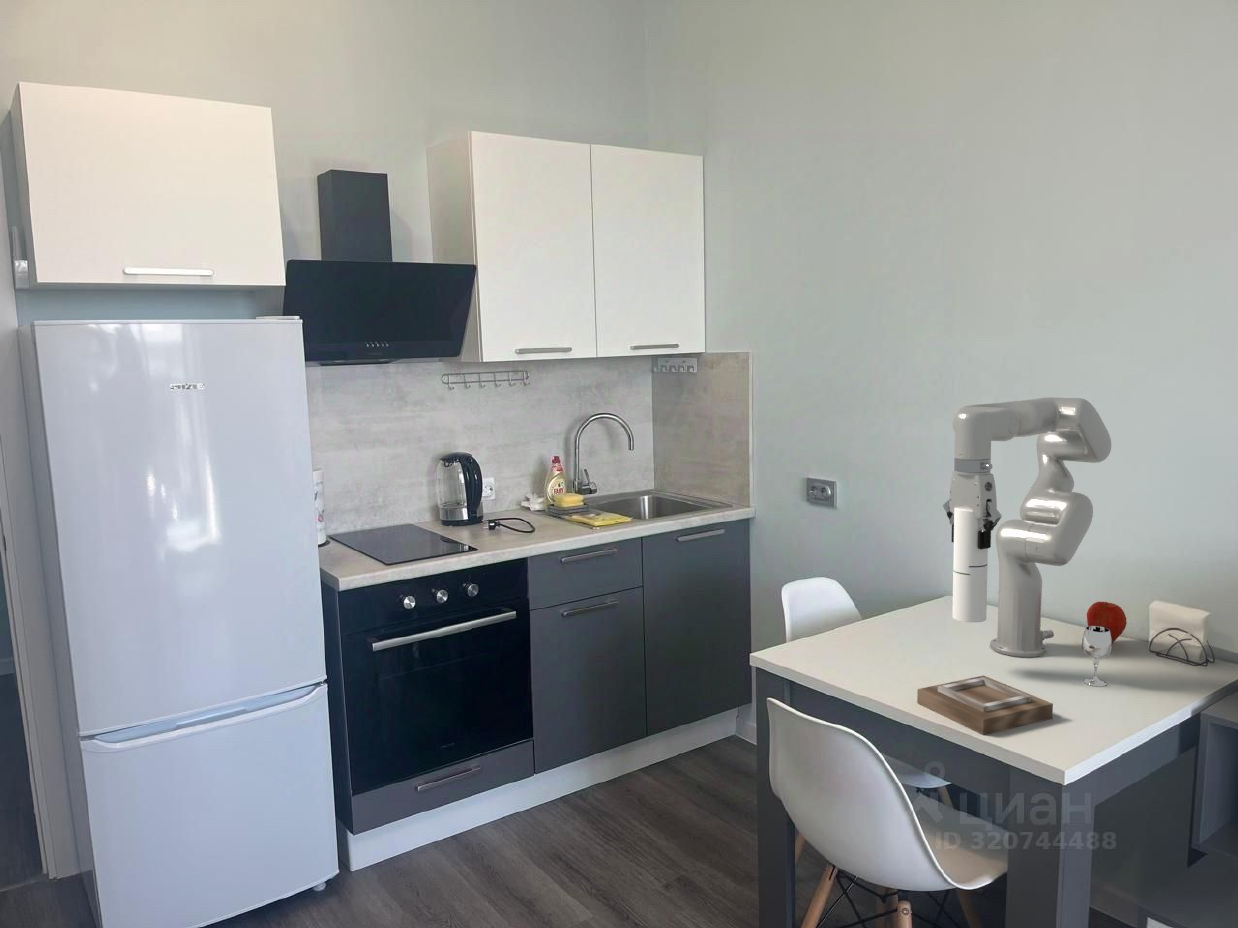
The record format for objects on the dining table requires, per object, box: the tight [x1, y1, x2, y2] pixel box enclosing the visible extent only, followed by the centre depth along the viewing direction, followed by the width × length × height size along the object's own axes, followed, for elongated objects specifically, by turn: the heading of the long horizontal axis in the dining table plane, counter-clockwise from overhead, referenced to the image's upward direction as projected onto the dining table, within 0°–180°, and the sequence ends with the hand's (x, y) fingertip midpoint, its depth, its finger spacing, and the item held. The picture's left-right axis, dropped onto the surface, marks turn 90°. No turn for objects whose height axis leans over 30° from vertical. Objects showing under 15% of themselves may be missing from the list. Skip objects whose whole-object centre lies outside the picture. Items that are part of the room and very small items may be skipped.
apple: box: [1086, 601, 1128, 644], centre depth 228 cm, size 9×8×11 cm
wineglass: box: [1081, 625, 1113, 687], centre depth 202 cm, size 6×6×12 cm
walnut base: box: [916, 675, 1054, 736], centre depth 189 cm, size 18×18×4 cm
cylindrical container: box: [951, 508, 989, 624], centre depth 209 cm, size 7×7×25 cm
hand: (970, 544), depth 209 cm, fingers closed on cylindrical container, 7 cm apart
